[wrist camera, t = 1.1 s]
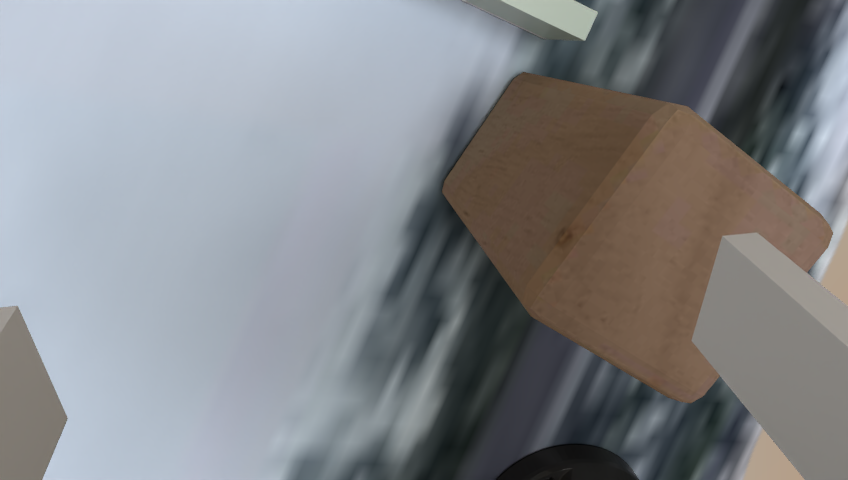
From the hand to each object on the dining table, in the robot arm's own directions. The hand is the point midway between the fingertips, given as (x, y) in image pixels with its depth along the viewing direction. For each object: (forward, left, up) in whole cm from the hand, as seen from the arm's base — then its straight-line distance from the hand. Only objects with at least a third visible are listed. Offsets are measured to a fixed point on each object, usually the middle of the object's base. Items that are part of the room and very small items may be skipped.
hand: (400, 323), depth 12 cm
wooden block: (-13, -1, -30) cm, 33 cm away
